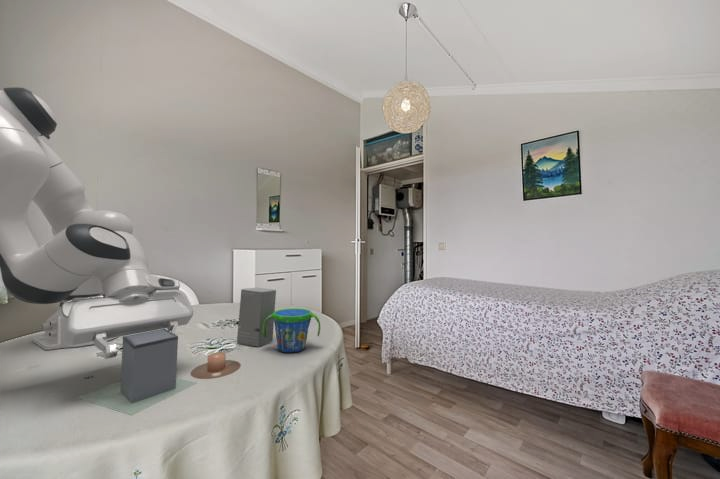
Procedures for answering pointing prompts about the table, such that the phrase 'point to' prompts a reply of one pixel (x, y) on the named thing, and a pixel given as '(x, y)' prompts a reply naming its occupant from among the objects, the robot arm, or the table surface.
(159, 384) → the gray box
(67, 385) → the table surface
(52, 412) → the table surface
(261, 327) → the skincare box
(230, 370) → the brown knobbed lid
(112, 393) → the mat
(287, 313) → the snack cup
